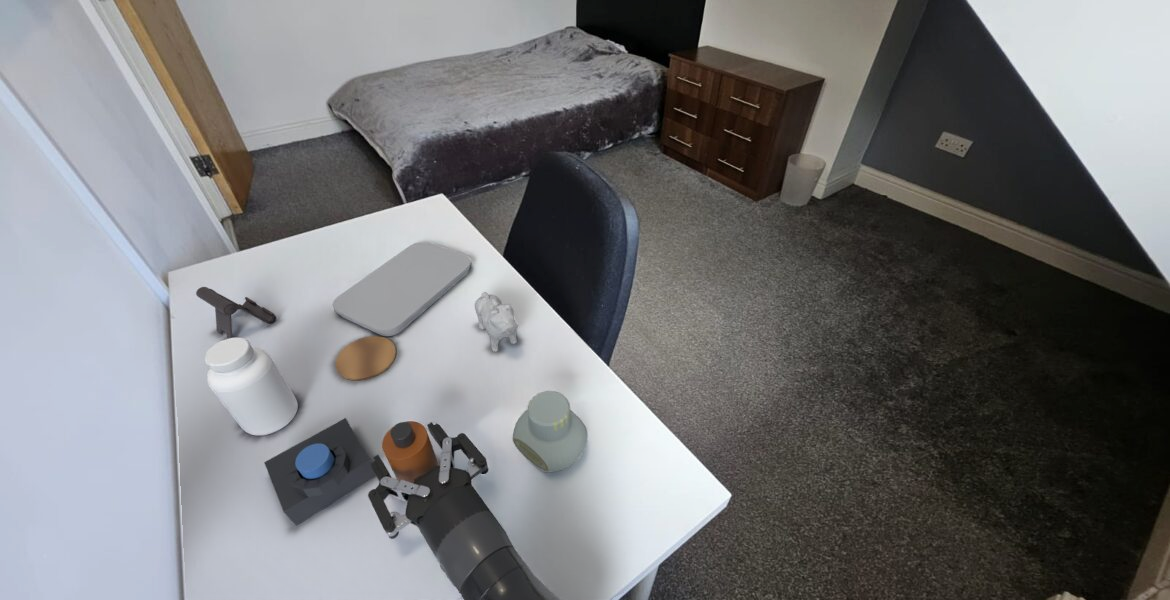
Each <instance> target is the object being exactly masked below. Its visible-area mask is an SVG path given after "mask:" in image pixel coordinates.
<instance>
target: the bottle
mask: <svg viewBox="0 0 1170 600" xmlns="http://www.w3.org/2000/svg"><path fill="white" fill-rule="evenodd" d="M381 441H382V442H381V450H382V452H383V454H384V456H385V458H386V460H387V463H388V464H389V466H390V468H391V470H392V472H393V474H394V476H395V479H397V480H401V479H402V480H405V481H408V482H411V483H413V482H414V479H416V478H417V477H419V476H421V475H423V474H426V473H427V472H428V471H429V470H430V469H431V468H432V467H434V466H435V465H436V466H440V462H439V460H438V458H437V455H436V452H435V450H434V446H433V444H432V441H431V439H430V435H429V433H428V430H427V428H426V427H425V426H424V425H423V423H421V422H418V421H416V420H406V421H400V422H397V423H395V424H394V425H393V426H392V427H391V428H390V429H389V430H388V431H387V432H386V433H385V435H384V436H383V438H382V440H381Z"/></svg>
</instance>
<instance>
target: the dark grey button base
mask: <svg viewBox="0 0 1170 600" xmlns="http://www.w3.org/2000/svg"><path fill="white" fill-rule="evenodd" d="M313 444H324V445H326V446H327V447H328V448H329V450H330V452H331V453H332V455H333V457H334V464H333V467H332V468H331V470H330V471H329V472H328V473H327V474H325V475H324V476H322V477H320V478H318V479H312V480H311V479H306V478H304V477H303V476H302V474H301V473H300V472H299V470H298V469H297V468H296V465H295V461H296V458H297V456H298V454H299V453H300V452H301V451H302V450H303V449H305V448H306V447H308V446H310V445H313ZM371 463H372V461H371V459H370V457H369V456H368V454H367V452H366V450H365V449H364V447H363V445H362V443H361V442H360V440H359V439H358V437H357V435H356V433H355V432H354V430H353V428H352V426H351V424H350V423H349V421H348V420H347V418H346V417H344V418H342V419H340V420H339V421H337V422H335V423H333V424H331V425H330V426H328V427H326V428H325V429H323V430H320V431H319V432H317V433H315V434H314V435H311V436H309V437H308V438H306V439H304V440H302V441H300V442H299V443H297V444H295V445H293V446H291V447H290V448H287V449H286V450H284V451H282V452H281V453H279V454H277V455H275V456H273V457H271V458H269V459H267V460H266V461H264V462H263V464H264V466H265V468H266V471H267V473H268V476H269V478H270V479H269V480H270V481H271V483H272V485H273V488H274V489H273V490H274V492H275V494H276V496H277V499H278V501H279V503H280V506H281V509H282V511H283V513H284V514H285V515H286V516H287V518H288V519H289V520H290V521H291V522H292V523H293V524H294V526H296V527H297V526H299V525H300V524H302V523H303V522H305V521H307V520H308V519H310V518H311V517H312V516H314V515H316V514H317V513H319V512H321V511H322V510H324V509H326V508H327V507H329V506H330V505H332V504H333V503H336V501H338V500H340V499H341V498H343V497H344V496H346V495H348V494H350V493H351V492H352V491H354V490H356V489H357V488H359V487H361V486H362V485H364V484H365V483H366V482H369V481H370V480H371V479H373V478H375V477H377V476H376V474H375V473H374V471H373V469H372V467H371Z"/></svg>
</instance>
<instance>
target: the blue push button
mask: <svg viewBox="0 0 1170 600" xmlns="http://www.w3.org/2000/svg"><path fill="white" fill-rule="evenodd" d="M333 464H334V457H333V455H332V453H331V452H330V450H329V448H328V447H327V446H326V445H324V444H313V445H310V446H308V447H306V448H305V449H303V450H302V451H301V452H300V453H299V454H298V456H297V458H296V461H295V465H296V468H297V469H298V470H299V472H300V473H301V474H302V476H303V477H304V478H306V479H311V480H312V479H318V478H320V477H322V476H324V475H325V474H327V473H328V472H329V471H330V470H331V468H332V467H333Z"/></svg>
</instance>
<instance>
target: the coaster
mask: <svg viewBox="0 0 1170 600" xmlns="http://www.w3.org/2000/svg"><path fill="white" fill-rule="evenodd" d="M396 357H397V349H396V346H395V343H394V342H392V341H391V340H390V339H388V338H386V337H385V336H384V337H383V336H376V335H374V336H373V335H372V336H365V337H361V338H359V339H356V340H354V341H352V342H351V343H349V344H347V345H346V346H345V347H343V349H342V350H341V351H340V352H339V353H338V354H337V356H336V359H335V370H336V372H337V373H338V374H339V376H341V377H342V378H343V379H346V380H349V381H365V380H369V379H372V378H376V377H377V376H380V375H381V374H383V373H384V372H386V371H387V370H388V369H389V368H390V367H391V366H392V365H393V363H394V362H395V359H396Z"/></svg>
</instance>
